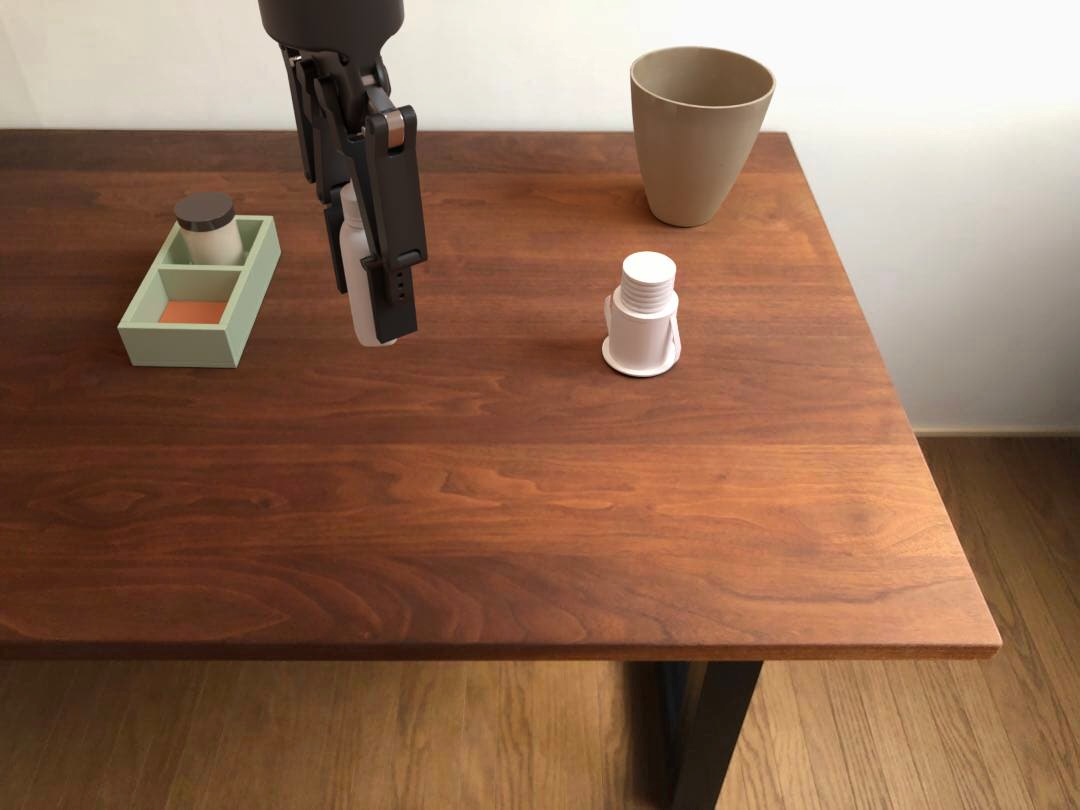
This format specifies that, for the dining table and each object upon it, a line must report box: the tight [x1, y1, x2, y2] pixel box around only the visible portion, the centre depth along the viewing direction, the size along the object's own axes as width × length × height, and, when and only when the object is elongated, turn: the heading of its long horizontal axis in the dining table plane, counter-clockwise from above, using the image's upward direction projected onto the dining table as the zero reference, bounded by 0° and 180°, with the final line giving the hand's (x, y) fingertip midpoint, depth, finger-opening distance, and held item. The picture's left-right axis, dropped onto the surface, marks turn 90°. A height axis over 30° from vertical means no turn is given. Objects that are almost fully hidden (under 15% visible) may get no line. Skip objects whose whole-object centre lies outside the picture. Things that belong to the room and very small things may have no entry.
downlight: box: [601, 251, 682, 378], centre depth 81 cm, size 8×7×10 cm
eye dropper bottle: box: [340, 179, 399, 348], centre depth 58 cm, size 4×6×12 cm
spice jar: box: [173, 191, 246, 266], centre depth 89 cm, size 5×5×8 cm
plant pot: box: [629, 45, 777, 228], centre depth 97 cm, size 15×15×16 cm
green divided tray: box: [116, 214, 282, 369], centre depth 87 cm, size 18×10×5 cm, turn 179°
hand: (376, 308), depth 62 cm, fingers closed on eye dropper bottle, 6 cm apart
